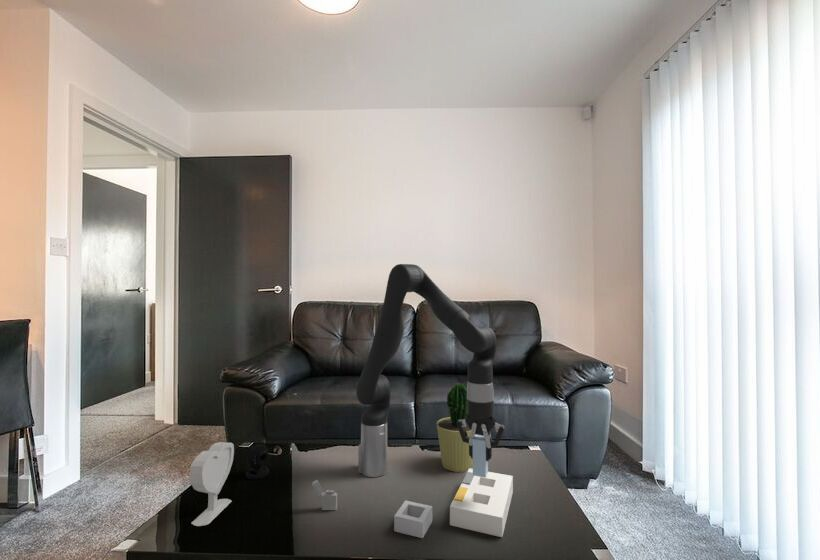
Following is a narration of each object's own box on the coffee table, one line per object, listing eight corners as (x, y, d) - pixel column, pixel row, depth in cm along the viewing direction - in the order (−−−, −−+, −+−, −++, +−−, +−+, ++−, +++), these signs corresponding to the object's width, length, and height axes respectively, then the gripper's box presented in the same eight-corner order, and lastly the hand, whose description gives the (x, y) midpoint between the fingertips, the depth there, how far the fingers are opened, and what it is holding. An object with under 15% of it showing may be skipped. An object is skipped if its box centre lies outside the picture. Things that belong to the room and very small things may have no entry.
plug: (472, 475, 108) (472, 439, 108) (475, 469, 111) (475, 434, 111) (485, 477, 106) (485, 441, 107) (487, 471, 110) (487, 436, 110)
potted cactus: (449, 452, 151) (449, 375, 152) (485, 462, 142) (485, 381, 143) (428, 466, 139) (428, 383, 140) (466, 479, 130) (466, 389, 131)
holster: (394, 531, 102) (394, 515, 102) (405, 514, 109) (405, 500, 109) (422, 538, 99) (422, 522, 99) (432, 520, 106) (432, 506, 106)
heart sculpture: (203, 528, 102) (205, 460, 103) (186, 527, 103) (187, 459, 103) (235, 497, 118) (236, 438, 118) (220, 496, 118) (221, 437, 119)
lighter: (337, 507, 113) (337, 479, 113) (336, 510, 111) (336, 482, 111) (313, 507, 113) (313, 479, 113) (311, 510, 111) (311, 482, 111)
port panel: (449, 525, 104) (449, 504, 105) (469, 483, 127) (469, 467, 127) (502, 537, 99) (502, 516, 100) (512, 491, 122) (512, 474, 122)
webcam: (254, 482, 127) (255, 451, 127) (240, 476, 131) (241, 446, 131) (274, 472, 134) (274, 443, 134) (260, 467, 138) (260, 439, 138)
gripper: (452, 398, 108) (452, 460, 108) (503, 403, 103) (504, 468, 103) (459, 392, 115) (459, 450, 115) (507, 396, 110) (507, 457, 110)
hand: (480, 458), depth 109 cm, fingers closed on plug, 3 cm apart
